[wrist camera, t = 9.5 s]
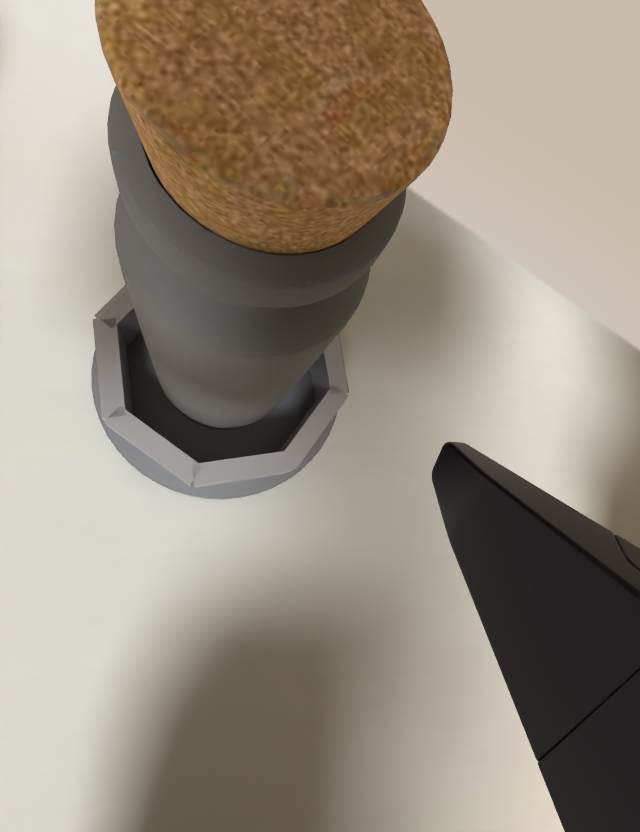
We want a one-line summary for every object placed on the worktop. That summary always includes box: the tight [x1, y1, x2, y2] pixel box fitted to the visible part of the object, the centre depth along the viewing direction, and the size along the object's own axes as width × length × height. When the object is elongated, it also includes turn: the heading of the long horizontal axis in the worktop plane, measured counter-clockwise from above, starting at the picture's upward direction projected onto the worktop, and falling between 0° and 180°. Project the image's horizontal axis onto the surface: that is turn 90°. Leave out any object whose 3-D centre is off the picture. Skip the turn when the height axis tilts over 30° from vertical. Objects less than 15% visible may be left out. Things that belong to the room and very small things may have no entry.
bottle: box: [95, 0, 453, 429], centre depth 13 cm, size 6×6×15 cm
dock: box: [92, 285, 349, 499], centre depth 19 cm, size 11×11×4 cm
